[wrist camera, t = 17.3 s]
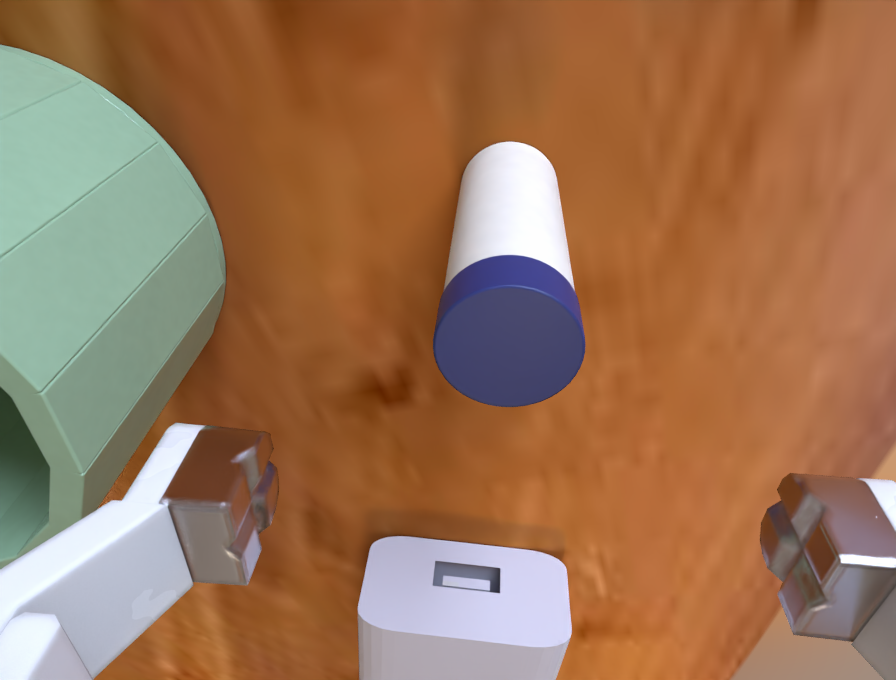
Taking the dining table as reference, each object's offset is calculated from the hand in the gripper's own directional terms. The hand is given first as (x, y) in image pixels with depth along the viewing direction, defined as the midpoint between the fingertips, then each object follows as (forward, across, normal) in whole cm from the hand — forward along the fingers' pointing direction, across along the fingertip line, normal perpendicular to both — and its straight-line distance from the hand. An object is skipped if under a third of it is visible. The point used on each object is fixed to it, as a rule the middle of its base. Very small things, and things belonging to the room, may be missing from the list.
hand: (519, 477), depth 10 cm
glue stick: (+12, 0, 0) cm, 12 cm away
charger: (+12, +1, +25) cm, 28 cm away
